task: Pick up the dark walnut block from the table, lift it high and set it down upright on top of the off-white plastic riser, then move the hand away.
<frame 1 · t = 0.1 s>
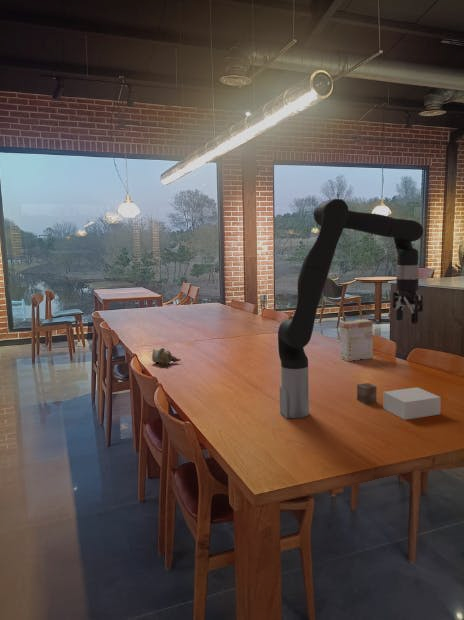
hand: (406, 321, 171), 29 cm above the table, fingers open, 8 cm apart
walnut block: (366, 401, 173), on the table
riser: (411, 411, 161), on the table
ceramic sculpture: (164, 364, 241), on the table
coffeecake box: (356, 359, 238), on the table
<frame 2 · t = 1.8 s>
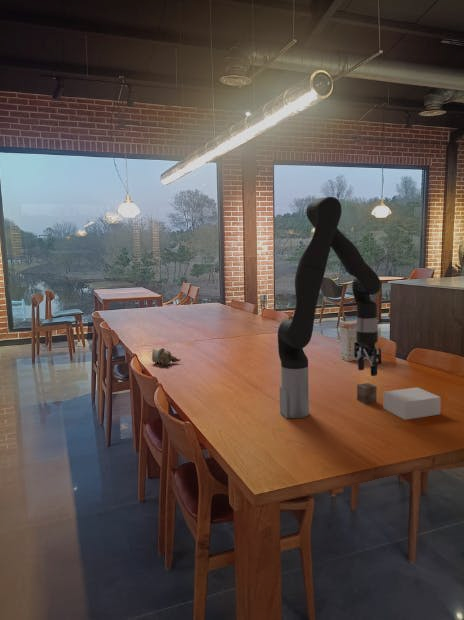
hand: (367, 372, 172), 11 cm above the table, fingers open, 8 cm apart
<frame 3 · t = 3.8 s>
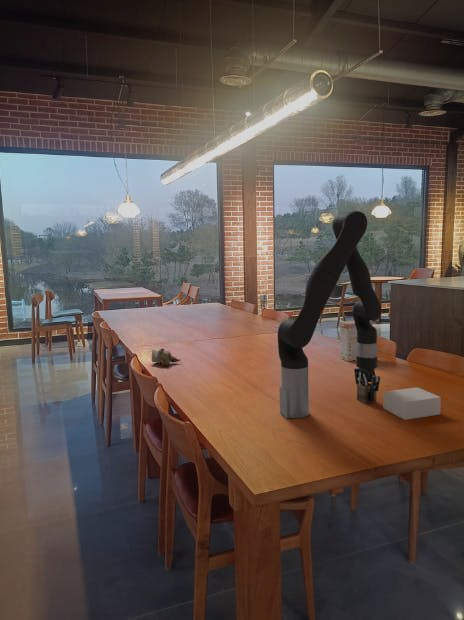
hand: (366, 399, 173), 1 cm above the table, fingers closed on walnut block, 5 cm apart
walnut block: (366, 401, 173), on the table, touching gripper
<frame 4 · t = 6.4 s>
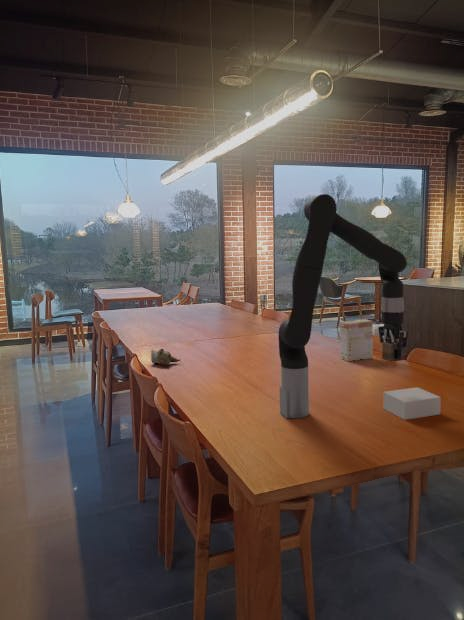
hand: (392, 357, 164), 18 cm above the table, fingers closed on walnut block, 5 cm apart
walnut block: (392, 359, 165), point 17 cm above the table, touching gripper
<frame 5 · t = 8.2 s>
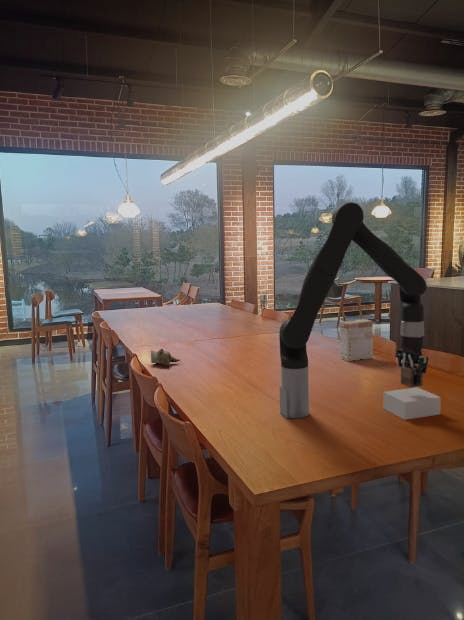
hand: (411, 382, 160), 10 cm above the table, fingers closed on walnut block, 5 cm apart
walnut block: (411, 384, 160), point 9 cm above the table, touching gripper
when the fingers open (8 cm above the table, at t = 9.5 s): walnut block drops 1 cm, resting on riser.
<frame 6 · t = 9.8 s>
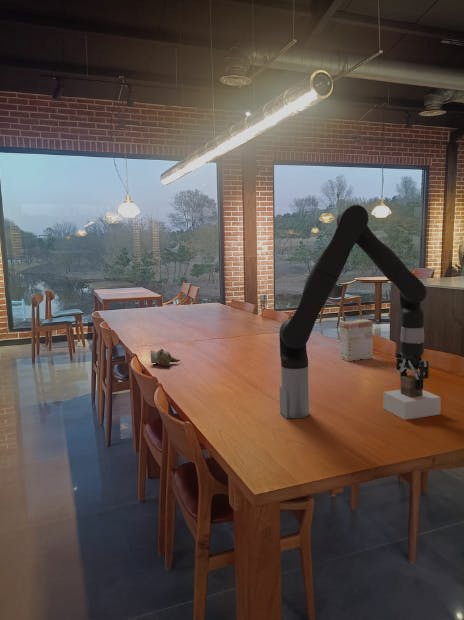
hand: (411, 386, 160), 9 cm above the table, fingers open, 8 cm apart
walnut block: (411, 394, 160), point 6 cm above the table, touching riser
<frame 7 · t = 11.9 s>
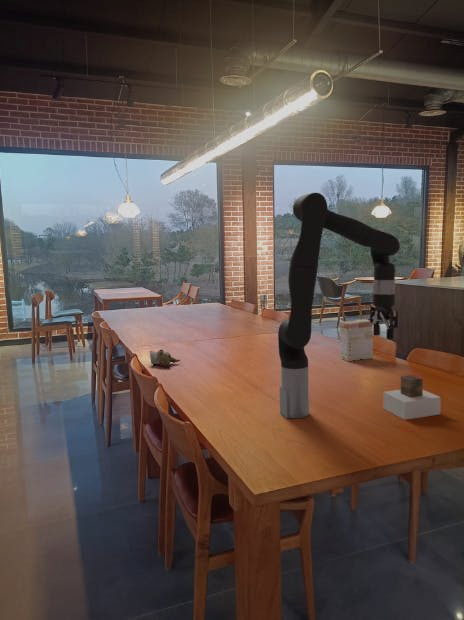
hand: (382, 337, 168), 24 cm above the table, fingers open, 8 cm apart
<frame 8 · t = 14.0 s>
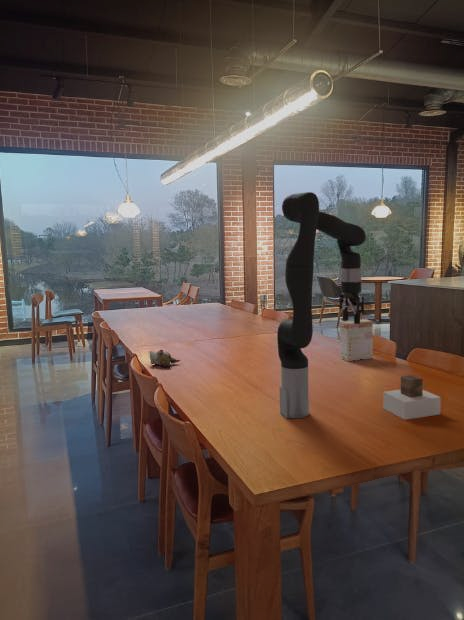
hand: (351, 322, 180), 28 cm above the table, fingers open, 8 cm apart
at the end: walnut block inside the target area on the riser (0.0 cm from its centre), point 6.0 cm above the riser's base; walnut block tilted 0°; the gripper is holding nothing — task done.
